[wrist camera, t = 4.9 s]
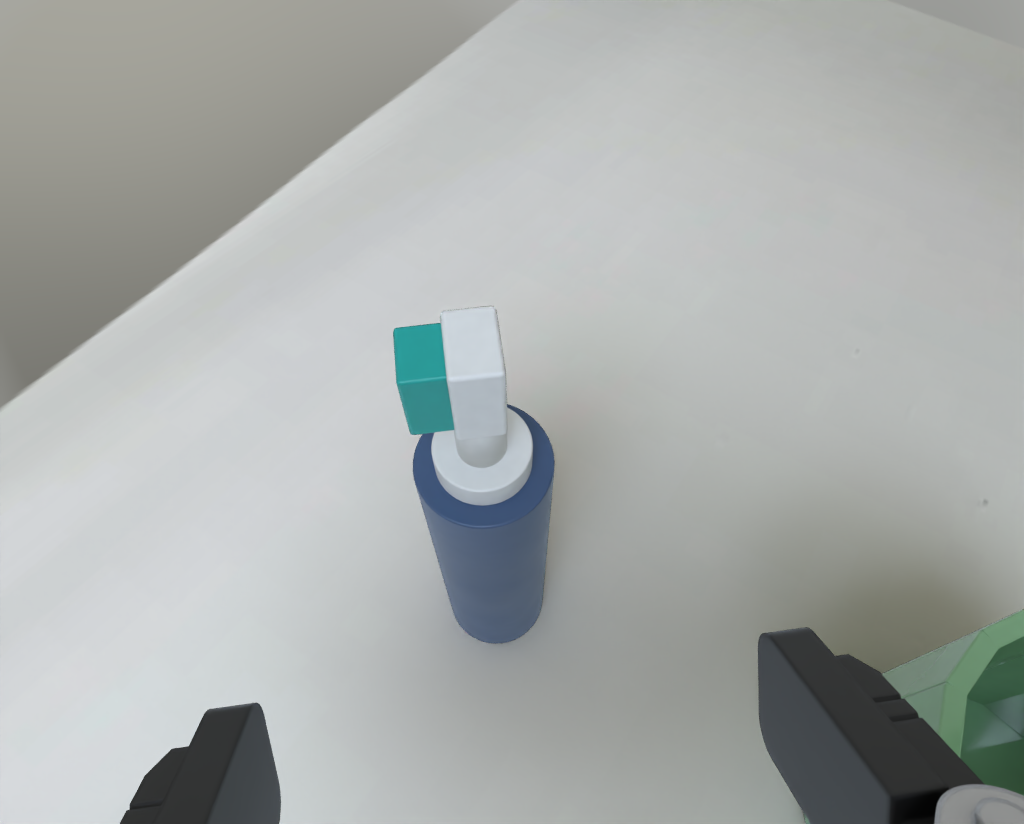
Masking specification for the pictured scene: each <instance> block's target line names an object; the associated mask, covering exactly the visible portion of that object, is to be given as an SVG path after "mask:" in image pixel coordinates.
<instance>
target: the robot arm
mask: <svg viewBox="0 0 1024 824" xmlns="http://www.w3.org/2000/svg"><path fill="white" fill-rule="evenodd" d="M758 681H759V720H760V726H761V731H762V735H763V739H764V742H765V745H766V748H767V750H768V752H769V755H770V756H771V758H772V760H773V762H774V763H775V765H776V767H777V768H778V770H779V772H780V773H781V775H782V777H783V778H784V780H785V782H786V784H787V785H788V787H789V789H790V790H791V792H792V794H793V795H794V797H795V799H796V800H797V802H798V804H799V805H800V807H801V809H802V810H803V812H804V814H805V815H806V817H807V819H808V820H809V822H810V824H1024V796H1023V795H1021V794H1018V793H1016V792H1013V791H1010V790H1007V789H1004V788H1000V787H996V786H991V785H985V784H984V783H983V782H982V781H981V780H980V779H979V778H978V777H977V775H976V774H975V773H974V772H973V771H972V770H971V769H970V768H969V767H968V766H967V765H966V764H965V763H964V762H963V761H962V759H961V758H960V757H959V756H958V755H957V754H956V753H955V752H954V751H953V750H952V749H951V748H950V747H949V746H948V745H947V743H946V742H945V741H944V740H943V739H942V738H941V737H940V736H939V735H938V734H937V733H936V732H935V731H934V730H933V729H932V727H931V726H930V725H929V724H928V723H927V722H926V721H925V720H924V719H923V718H919V716H918V713H917V712H916V710H915V709H914V708H913V707H912V706H911V705H910V704H909V703H908V702H907V701H906V700H905V699H901V696H900V693H899V692H898V691H897V690H896V689H895V688H894V687H893V686H892V685H891V684H890V683H889V682H888V681H887V680H886V678H885V677H884V676H883V675H882V674H881V673H880V672H879V671H877V670H875V669H873V668H872V667H870V666H868V665H866V664H865V663H863V662H861V661H859V660H858V659H856V658H854V657H852V656H851V655H849V654H847V655H840V656H834V654H833V653H832V652H831V651H830V650H829V649H828V648H827V646H826V645H825V644H824V643H823V642H822V641H821V640H820V638H819V637H818V636H817V635H816V634H815V633H814V632H813V631H812V630H811V629H810V628H807V627H805V628H798V629H791V630H784V631H777V632H769V633H763V634H761V635H760V637H759V642H758ZM280 810H281V796H280V786H279V780H278V776H277V771H276V767H275V762H274V758H273V753H272V749H271V744H270V740H269V735H268V731H267V726H266V722H265V717H264V713H263V710H262V708H261V706H260V705H259V704H258V703H251V704H244V705H236V706H229V707H222V708H215V709H209V710H207V711H206V712H205V714H204V716H203V718H202V720H201V722H200V724H199V726H198V728H197V730H196V732H195V735H194V737H193V739H192V741H191V743H190V745H189V747H182V748H175V749H171V750H170V751H169V752H168V753H167V754H166V755H165V756H164V757H163V758H162V759H161V760H160V761H159V762H158V763H157V764H156V765H155V766H154V767H153V768H152V769H151V770H150V771H149V772H148V773H147V774H146V775H145V777H144V779H143V780H142V782H141V784H140V786H139V788H138V790H137V792H136V794H135V796H134V798H133V799H132V801H131V803H130V810H127V811H126V813H125V815H124V817H123V818H122V820H121V822H120V824H279V821H280Z"/></svg>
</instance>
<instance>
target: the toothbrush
mask: <svg viewBox="0 0 1024 824" xmlns="http://www.w3.org/2000/svg"><path fill="white" fill-rule="evenodd" d="M440 321H441V323H436V324H427V325H418V326H409V327H400V328H395V329H394V332H393V337H394V353H395V368H396V383H397V387H398V390H399V394H400V398H401V401H402V405H403V409H404V413H405V416H406V420H407V424H408V427H409V431H410V433H411V434H412V435H417V434H422V436H421V438H420V440H419V442H418V444H417V446H416V450H415V453H414V459H413V475H414V480H415V484H416V487H417V491H418V494H419V497H420V501H421V504H422V508H423V511H424V514H425V518H426V521H427V524H428V528H429V531H430V535H431V538H432V541H433V545H434V548H435V552H436V555H437V558H438V562H439V565H440V569H441V572H442V575H443V579H444V582H445V586H446V589H447V592H448V596H449V599H450V603H451V606H452V609H453V613H454V615H455V618H456V620H457V621H458V623H459V625H460V626H461V627H462V628H463V630H465V631H466V632H467V633H468V634H469V635H471V636H472V637H474V638H476V639H478V640H480V641H483V642H487V643H505V642H509V641H512V640H515V639H517V638H519V637H521V636H522V635H523V634H525V633H526V632H527V631H528V630H529V629H530V628H531V627H532V626H533V625H534V623H535V621H536V620H537V618H538V616H539V613H540V610H541V606H542V598H543V587H544V576H545V565H546V554H547V543H548V532H549V522H550V511H551V500H552V489H553V478H554V463H555V461H554V453H553V449H552V445H551V443H550V440H549V438H548V436H547V434H546V433H545V431H544V430H543V428H542V427H541V426H540V425H539V424H538V423H537V422H536V421H535V420H534V419H533V418H532V417H531V416H529V415H528V414H527V413H525V412H524V411H522V410H520V409H518V408H516V407H514V406H511V405H508V404H507V393H506V370H505V364H504V357H503V350H502V344H501V337H500V330H499V324H498V317H497V310H496V309H495V307H494V306H483V307H474V308H465V309H456V310H447V311H443V312H441V315H440Z"/></svg>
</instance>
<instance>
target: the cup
mask: <svg viewBox="0 0 1024 824" xmlns="http://www.w3.org/2000/svg"><path fill="white" fill-rule="evenodd" d="M882 675H883V676H884V677H885V678H886V680H887V681H888V682H889V683H890V684H891V685H892V686H893V687H894V688H895V689H896V690H897V691H898V692H899V693H900V696H901V699H905V700H906V701H907V702H908V703H909V704H910V705H911V706H912V707H913V708H914V709H915V710H916V712H917V713H918V716H919V718H923V719H924V720H925V721H926V722H927V723H928V724H929V725H930V726H931V727H932V729H933V730H934V731H935V732H936V733H937V734H938V735H939V736H940V737H941V738H942V739H943V740H944V741H945V742H946V743H947V745H948V746H949V747H950V748H951V749H952V750H953V751H954V752H955V753H956V754H957V755H958V756H959V757H960V758H961V759H962V761H963V762H964V763H965V764H966V765H967V766H968V767H969V768H970V769H971V770H972V771H973V772H974V773H975V774H976V775H977V777H978V778H979V779H980V780H981V781H982V782H983V783H984V784H985V785H991V786H996V787H1000V788H1004V789H1007V790H1010V791H1013V792H1016V793H1018V794H1021V795H1023V796H1024V609H1022V610H1020V611H1018V612H1015V613H1013V614H1011V615H1009V616H1007V617H1004V618H1002V619H1000V620H998V621H996V622H994V623H991V624H989V625H987V626H985V627H983V628H980V629H978V630H976V631H974V632H972V633H970V634H967V635H965V636H963V637H961V638H959V639H956V640H954V641H952V642H950V643H948V644H946V645H943V646H941V647H939V648H937V649H935V650H932V651H930V652H928V653H926V654H924V655H922V656H919V657H917V658H915V659H913V660H911V661H908V662H906V663H904V664H902V665H900V666H897V667H895V668H893V669H891V670H889V671H887V672H884V673H882ZM803 813H804V812H803ZM804 817H805V822H806V824H810V822H809V820H808V819H807V817H806V815H805V814H804Z"/></svg>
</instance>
